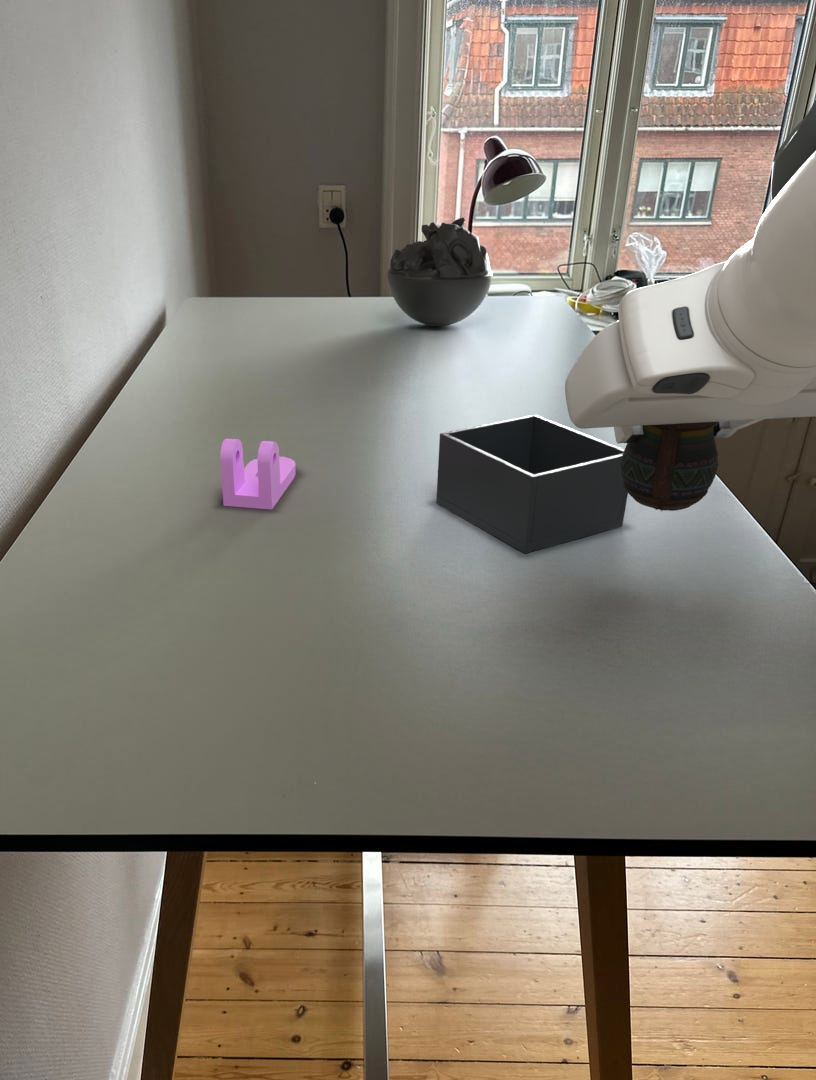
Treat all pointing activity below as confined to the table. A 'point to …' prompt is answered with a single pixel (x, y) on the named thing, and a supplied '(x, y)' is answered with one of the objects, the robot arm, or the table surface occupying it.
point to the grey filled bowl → (441, 275)
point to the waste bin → (531, 481)
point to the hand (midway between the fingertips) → (669, 432)
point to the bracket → (254, 475)
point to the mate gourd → (670, 465)
